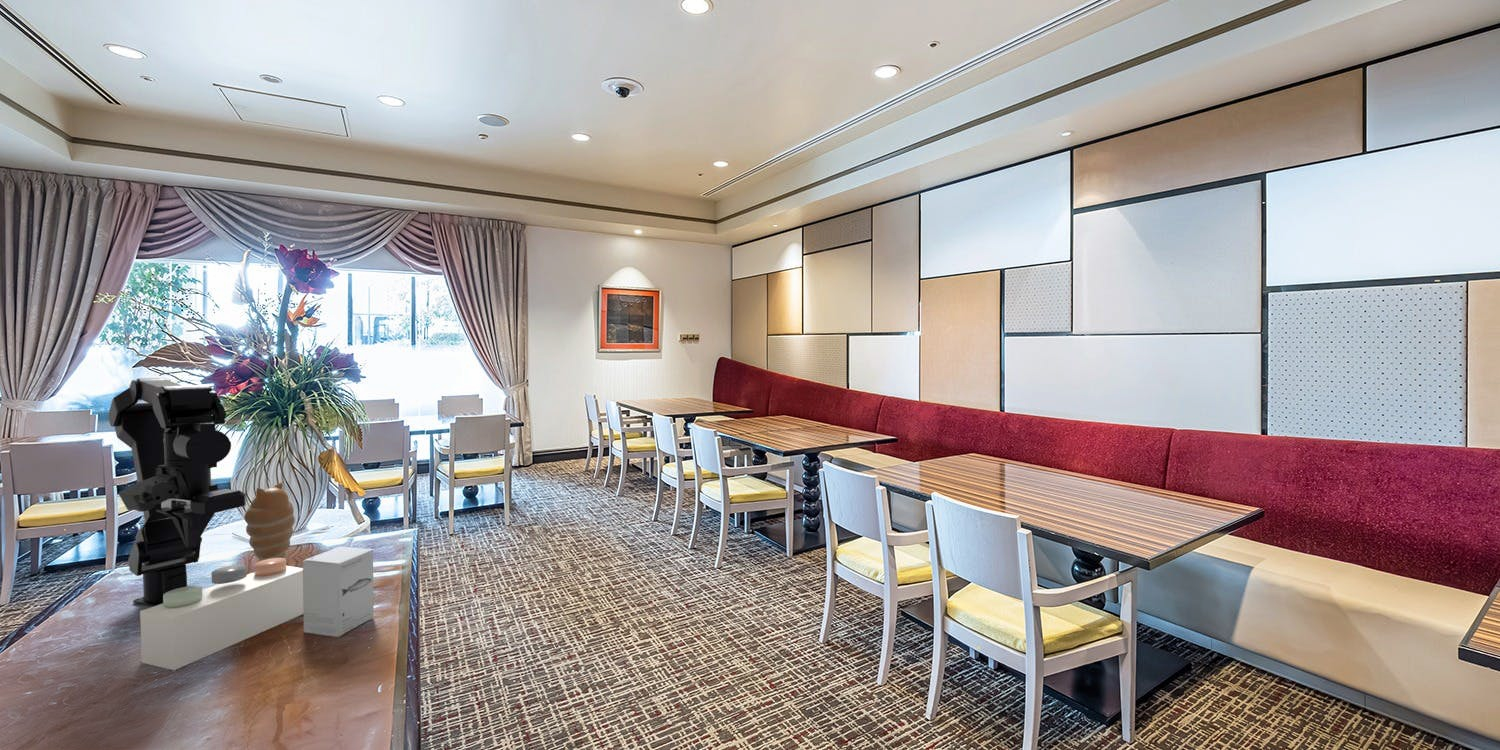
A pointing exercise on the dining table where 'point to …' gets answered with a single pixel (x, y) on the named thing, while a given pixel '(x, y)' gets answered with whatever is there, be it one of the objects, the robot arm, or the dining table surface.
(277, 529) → the cat ice cream
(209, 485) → the robot arm
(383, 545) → the dining table surface
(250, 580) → the button bar
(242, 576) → the grey button
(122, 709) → the dining table surface
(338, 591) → the supplement box
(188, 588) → the sage button
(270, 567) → the terracotta button
